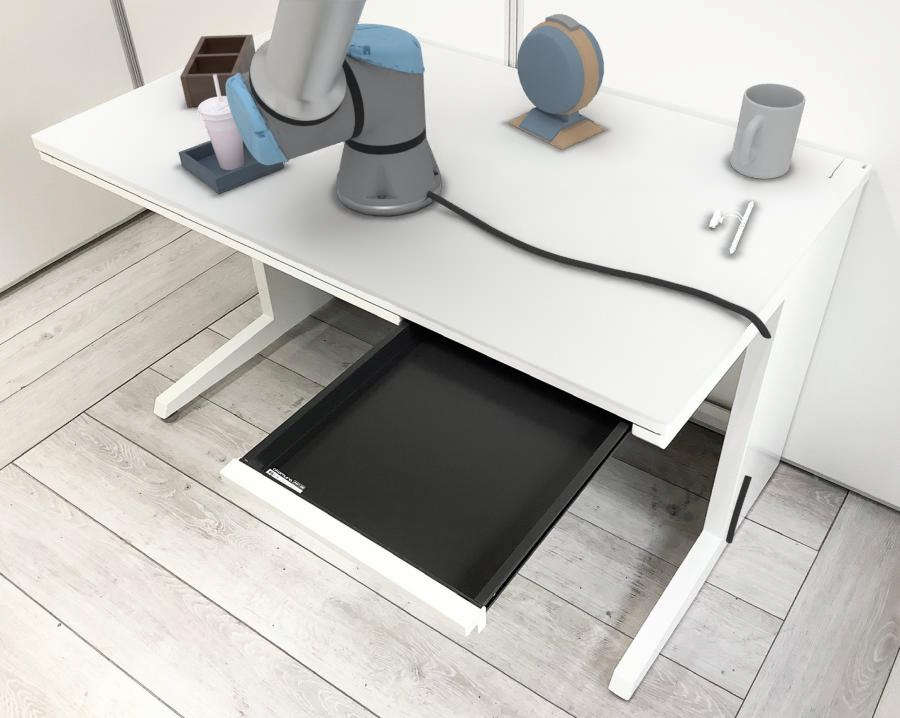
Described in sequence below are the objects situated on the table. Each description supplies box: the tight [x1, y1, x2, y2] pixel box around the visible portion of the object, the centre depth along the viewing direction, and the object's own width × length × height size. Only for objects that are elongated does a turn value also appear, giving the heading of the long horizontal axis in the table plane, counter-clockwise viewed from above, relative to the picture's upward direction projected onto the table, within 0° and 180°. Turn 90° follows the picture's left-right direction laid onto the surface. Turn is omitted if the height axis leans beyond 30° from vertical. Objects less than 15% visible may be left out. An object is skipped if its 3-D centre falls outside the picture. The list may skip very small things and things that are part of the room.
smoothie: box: [197, 74, 244, 170], centre depth 132 cm, size 6×6×14 cm
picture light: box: [708, 200, 755, 255], centre depth 120 cm, size 14×4×2 cm, turn 154°
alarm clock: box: [508, 13, 606, 150], centre depth 138 cm, size 14×10×18 cm
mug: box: [730, 83, 806, 180], centre depth 128 cm, size 12×8×11 cm
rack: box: [179, 34, 256, 108], centre depth 158 cm, size 18×10×6 cm, turn 1°
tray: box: [178, 139, 285, 195], centre depth 136 cm, size 11×11×2 cm
